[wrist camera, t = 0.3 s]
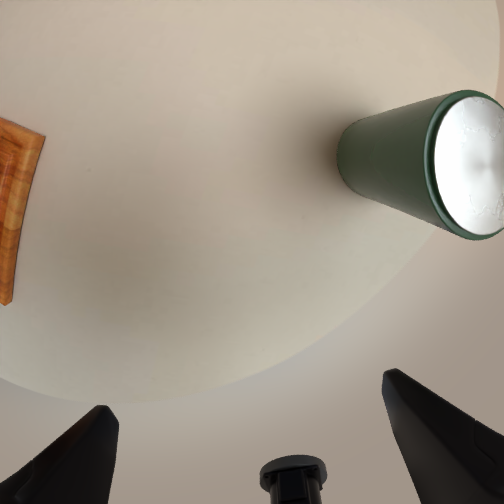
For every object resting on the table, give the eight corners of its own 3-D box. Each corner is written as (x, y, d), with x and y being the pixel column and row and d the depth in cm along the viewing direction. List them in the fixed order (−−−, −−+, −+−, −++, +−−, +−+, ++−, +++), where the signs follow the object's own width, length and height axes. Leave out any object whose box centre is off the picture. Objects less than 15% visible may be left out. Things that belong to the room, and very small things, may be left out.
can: (415, 191, 22) (532, 228, 10) (344, 205, 22) (434, 257, 10) (402, 114, 20) (519, 92, 8) (328, 123, 20) (412, 88, 8)
